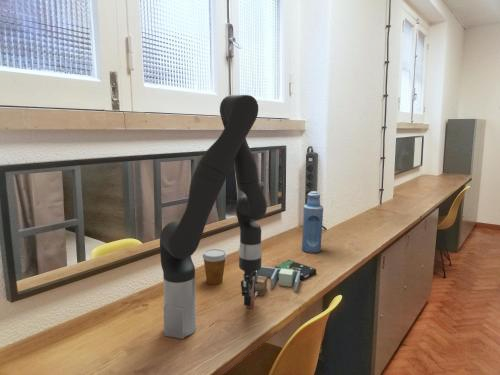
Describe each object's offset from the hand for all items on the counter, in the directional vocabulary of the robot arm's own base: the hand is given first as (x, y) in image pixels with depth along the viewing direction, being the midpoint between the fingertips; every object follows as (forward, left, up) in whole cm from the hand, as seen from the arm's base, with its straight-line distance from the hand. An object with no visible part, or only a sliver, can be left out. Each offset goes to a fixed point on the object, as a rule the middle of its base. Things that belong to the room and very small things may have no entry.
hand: (249, 301), depth 123 cm
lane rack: (+20, -5, -2) cm, 21 cm away
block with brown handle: (+7, 0, -2) cm, 7 cm away
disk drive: (+34, -11, -3) cm, 36 cm away
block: (+22, -9, -2) cm, 24 cm away
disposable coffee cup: (+15, +19, -2) cm, 24 cm away
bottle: (+63, -15, -2) cm, 65 cm away
